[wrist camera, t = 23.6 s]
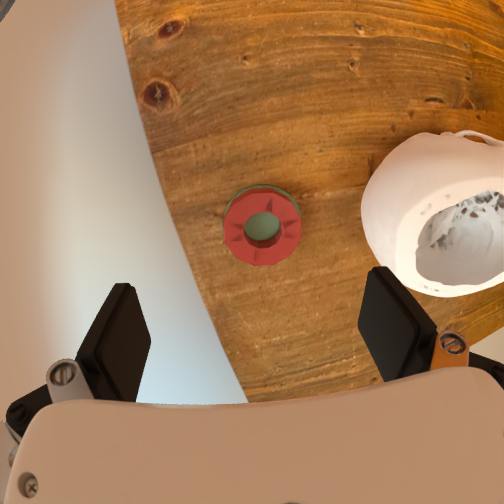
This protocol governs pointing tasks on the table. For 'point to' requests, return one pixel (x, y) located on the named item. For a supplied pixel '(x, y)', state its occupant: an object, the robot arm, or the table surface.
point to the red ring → (266, 249)
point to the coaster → (263, 218)
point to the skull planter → (439, 224)
